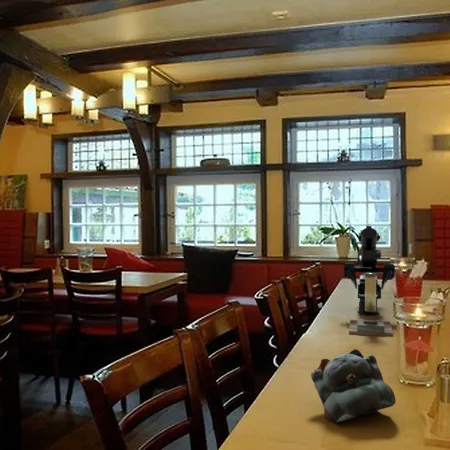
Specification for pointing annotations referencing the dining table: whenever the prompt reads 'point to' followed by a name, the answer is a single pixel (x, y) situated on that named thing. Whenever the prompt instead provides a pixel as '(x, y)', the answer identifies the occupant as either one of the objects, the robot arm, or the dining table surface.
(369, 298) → the tan cylinder
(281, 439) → the dining table surface
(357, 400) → the lucky cat figurine
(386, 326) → the walnut eye plate
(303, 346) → the dining table surface
